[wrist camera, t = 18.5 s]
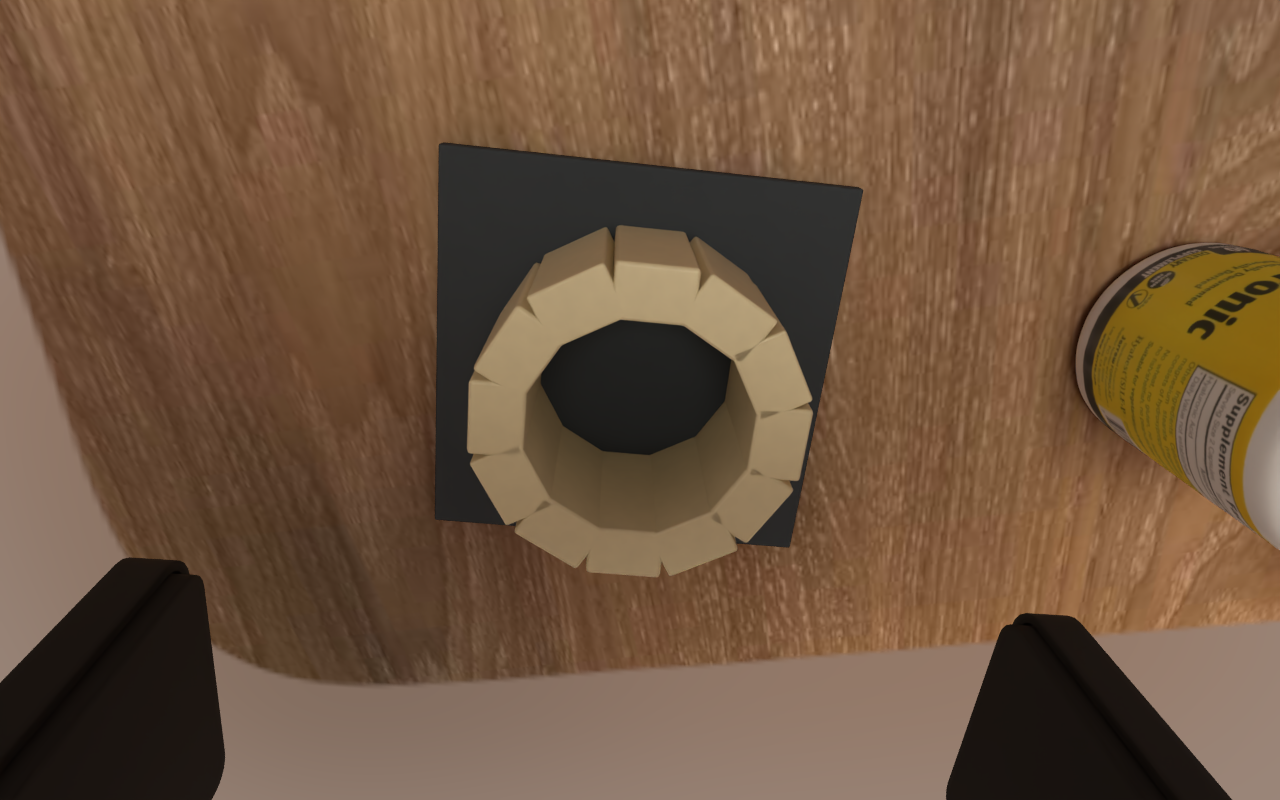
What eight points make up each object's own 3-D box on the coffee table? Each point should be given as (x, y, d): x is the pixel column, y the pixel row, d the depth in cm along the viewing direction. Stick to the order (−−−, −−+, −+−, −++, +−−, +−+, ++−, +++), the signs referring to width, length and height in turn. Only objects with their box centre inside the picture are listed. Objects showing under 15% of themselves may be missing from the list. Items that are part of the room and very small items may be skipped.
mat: (437, 512, 22) (434, 520, 22) (442, 142, 19) (438, 143, 18) (787, 540, 23) (789, 548, 23) (859, 187, 19) (864, 189, 19)
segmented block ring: (490, 480, 22) (463, 564, 18) (500, 212, 19) (471, 246, 15) (751, 501, 22) (778, 588, 18) (798, 243, 19) (841, 282, 16)
